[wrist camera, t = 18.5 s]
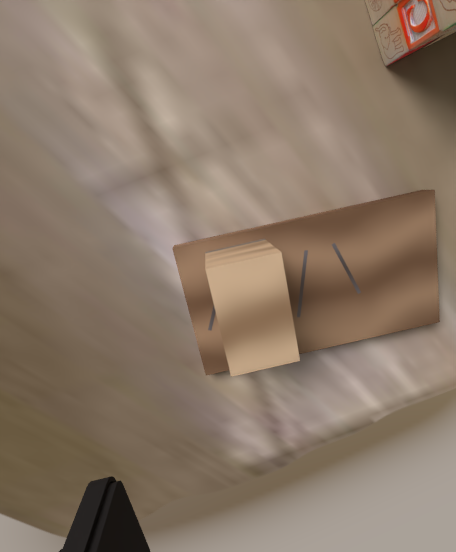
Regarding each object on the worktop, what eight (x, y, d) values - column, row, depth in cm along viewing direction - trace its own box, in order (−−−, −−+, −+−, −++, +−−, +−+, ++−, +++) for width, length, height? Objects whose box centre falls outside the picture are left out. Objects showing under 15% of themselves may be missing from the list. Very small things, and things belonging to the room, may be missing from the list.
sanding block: (205, 252, 26) (205, 269, 21) (264, 238, 26) (281, 252, 21) (225, 338, 28) (231, 376, 23) (280, 326, 28) (300, 360, 23)
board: (174, 245, 28) (172, 248, 26) (422, 189, 28) (434, 189, 26) (206, 366, 31) (206, 375, 29) (428, 315, 31) (439, 322, 30)
